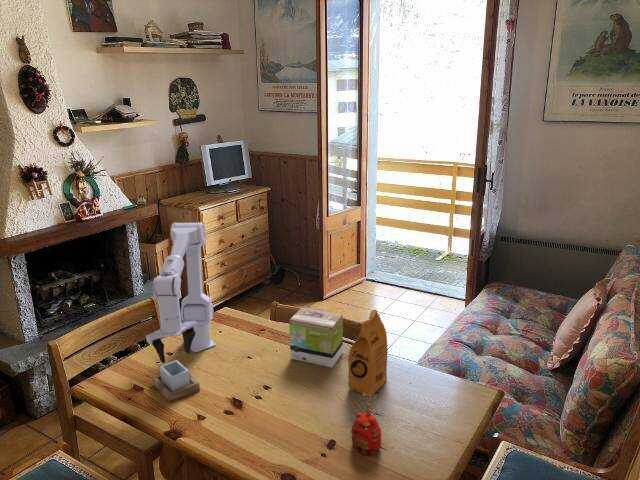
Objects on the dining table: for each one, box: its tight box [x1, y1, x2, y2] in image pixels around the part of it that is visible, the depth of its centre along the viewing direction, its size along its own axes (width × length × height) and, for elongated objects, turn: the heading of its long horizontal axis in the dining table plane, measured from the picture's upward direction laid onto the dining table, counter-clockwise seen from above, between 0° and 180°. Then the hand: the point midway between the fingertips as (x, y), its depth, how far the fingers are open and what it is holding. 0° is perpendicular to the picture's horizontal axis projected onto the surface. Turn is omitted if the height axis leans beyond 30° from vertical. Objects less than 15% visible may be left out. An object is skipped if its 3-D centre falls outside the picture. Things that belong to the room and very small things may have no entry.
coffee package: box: [347, 308, 389, 397], centre depth 152 cm, size 10×12×22 cm
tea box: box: [288, 307, 344, 369], centre depth 168 cm, size 15×10×15 cm
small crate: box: [159, 359, 190, 392], centre depth 154 cm, size 8×6×6 cm
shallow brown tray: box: [152, 373, 201, 404], centre depth 155 cm, size 12×10×2 cm
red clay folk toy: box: [350, 389, 382, 456], centre depth 127 cm, size 8×7×15 cm
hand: (175, 357), depth 153 cm, fingers open, 7 cm apart
